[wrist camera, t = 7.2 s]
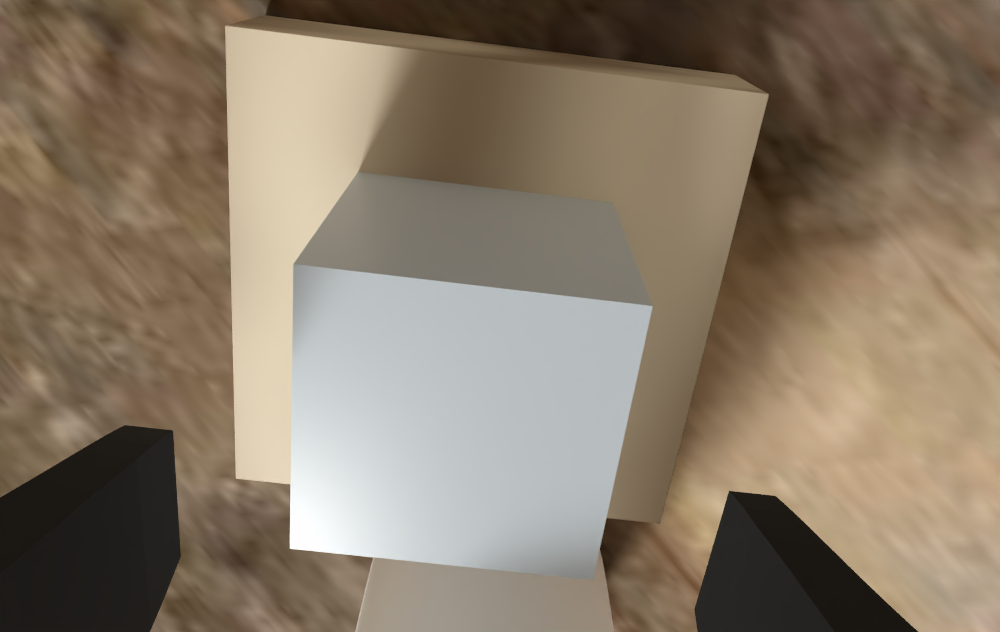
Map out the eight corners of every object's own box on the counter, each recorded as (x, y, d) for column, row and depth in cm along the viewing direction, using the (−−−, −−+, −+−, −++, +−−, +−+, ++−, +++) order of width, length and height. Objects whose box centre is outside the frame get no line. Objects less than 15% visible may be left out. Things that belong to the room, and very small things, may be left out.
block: (612, 202, 16) (652, 305, 11) (572, 418, 18) (593, 579, 13) (357, 171, 16) (293, 264, 11) (347, 393, 18) (289, 548, 13)
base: (735, 74, 17) (768, 94, 15) (644, 462, 21) (660, 523, 19) (264, 15, 17) (225, 25, 14) (266, 421, 21) (236, 478, 19)
